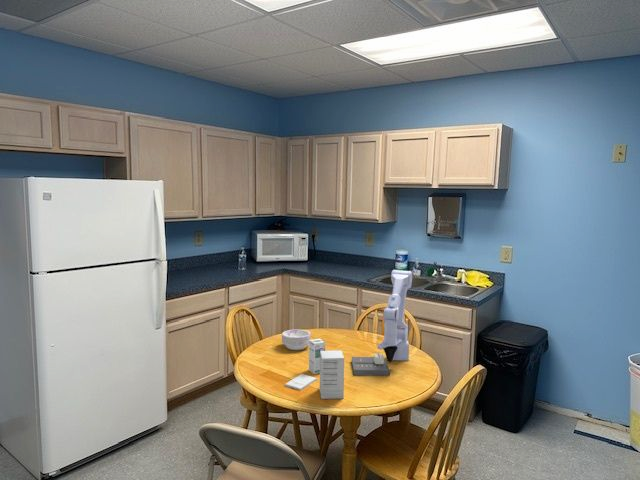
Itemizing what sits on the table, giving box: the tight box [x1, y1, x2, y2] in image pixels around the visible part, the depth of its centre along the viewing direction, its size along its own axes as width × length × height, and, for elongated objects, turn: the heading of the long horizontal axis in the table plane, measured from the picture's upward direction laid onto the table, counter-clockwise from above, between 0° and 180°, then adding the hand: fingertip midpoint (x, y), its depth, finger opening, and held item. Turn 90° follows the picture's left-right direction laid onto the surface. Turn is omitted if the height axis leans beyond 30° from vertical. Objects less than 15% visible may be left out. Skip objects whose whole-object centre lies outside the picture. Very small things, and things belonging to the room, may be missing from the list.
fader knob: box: [373, 353, 385, 364], centre depth 208 cm, size 4×5×4 cm
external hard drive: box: [284, 373, 317, 391], centre depth 191 cm, size 2×8×12 cm
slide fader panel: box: [351, 356, 391, 376], centre depth 208 cm, size 16×16×3 cm
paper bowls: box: [281, 328, 312, 351], centre depth 234 cm, size 15×15×8 cm
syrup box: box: [308, 338, 326, 375], centre depth 203 cm, size 6×6×14 cm
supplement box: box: [319, 350, 345, 400], centre depth 180 cm, size 10×9×17 cm
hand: (389, 361), depth 208 cm, fingers closed
